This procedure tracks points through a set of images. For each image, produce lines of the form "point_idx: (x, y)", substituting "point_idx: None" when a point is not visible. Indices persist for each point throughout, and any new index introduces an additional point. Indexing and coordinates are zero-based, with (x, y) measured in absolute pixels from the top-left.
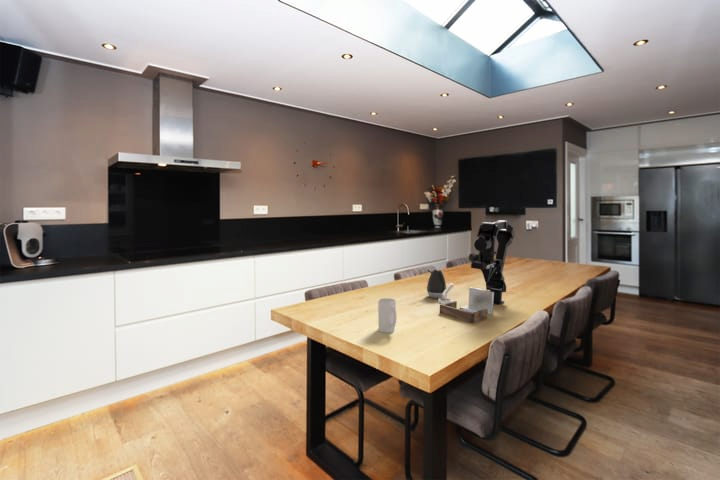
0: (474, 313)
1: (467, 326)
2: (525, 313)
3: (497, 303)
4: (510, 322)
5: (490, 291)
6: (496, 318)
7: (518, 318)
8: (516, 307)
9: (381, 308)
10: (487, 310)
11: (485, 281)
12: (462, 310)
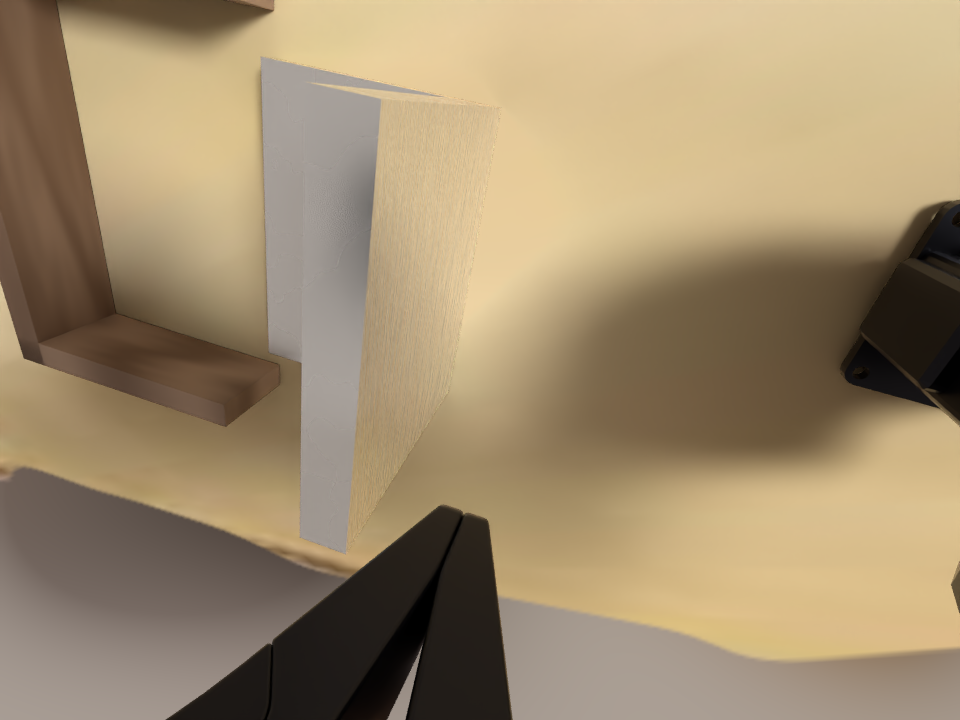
0: (43, 362)
1: None
2: (626, 601)
3: (868, 368)
4: None
5: (333, 514)
6: None
7: None
8: (816, 543)
9: None
10: (228, 420)
11: (434, 515)
12: (2, 244)
